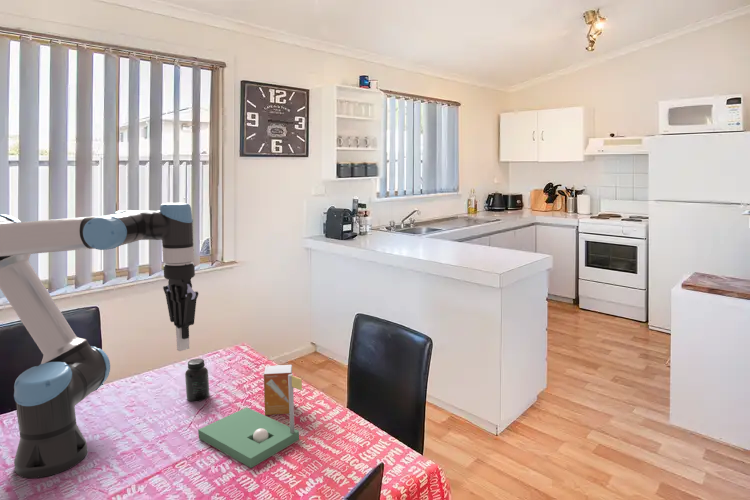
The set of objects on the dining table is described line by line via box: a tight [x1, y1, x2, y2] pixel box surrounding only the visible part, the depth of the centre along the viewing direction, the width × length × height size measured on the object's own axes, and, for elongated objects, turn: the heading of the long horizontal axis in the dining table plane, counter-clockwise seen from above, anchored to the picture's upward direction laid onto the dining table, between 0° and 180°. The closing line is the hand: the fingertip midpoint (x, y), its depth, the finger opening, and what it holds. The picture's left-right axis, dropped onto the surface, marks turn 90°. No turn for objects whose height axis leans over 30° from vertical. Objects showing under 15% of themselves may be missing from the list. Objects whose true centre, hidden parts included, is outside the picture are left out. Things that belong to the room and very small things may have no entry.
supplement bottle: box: [184, 358, 210, 402], centre depth 156 cm, size 7×7×12 cm
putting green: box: [197, 373, 303, 469], centre depth 130 cm, size 25×16×18 cm, turn 53°
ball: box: [253, 428, 269, 444], centre depth 129 cm, size 4×4×4 cm
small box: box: [263, 364, 293, 416], centre depth 147 cm, size 8×6×13 cm
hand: (183, 349), depth 132 cm, fingers closed
